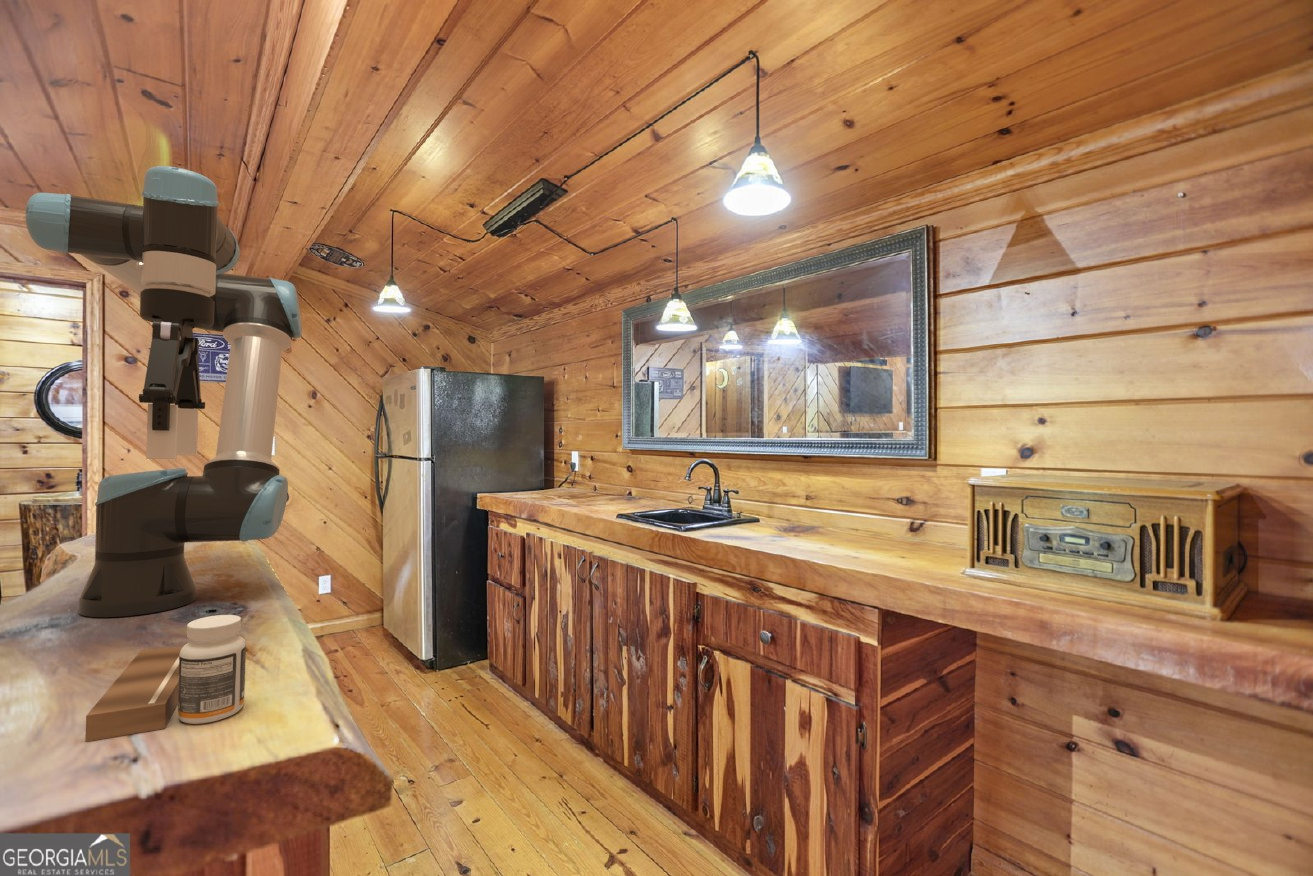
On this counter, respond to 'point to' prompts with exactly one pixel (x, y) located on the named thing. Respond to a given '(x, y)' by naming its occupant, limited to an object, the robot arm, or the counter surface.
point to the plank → (138, 696)
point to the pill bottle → (211, 670)
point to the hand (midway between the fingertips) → (173, 457)
